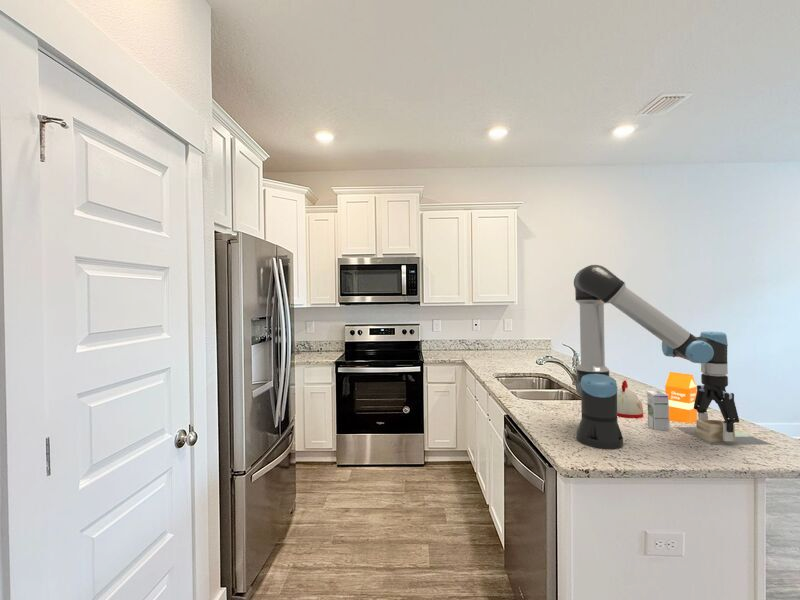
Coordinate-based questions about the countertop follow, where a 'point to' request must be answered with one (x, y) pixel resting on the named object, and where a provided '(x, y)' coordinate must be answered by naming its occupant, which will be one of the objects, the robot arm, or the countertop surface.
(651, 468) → the countertop surface
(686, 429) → the rubber mat
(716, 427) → the maple block
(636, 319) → the robot arm
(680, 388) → the orange juice
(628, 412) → the kitchen timer
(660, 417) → the syrup box
